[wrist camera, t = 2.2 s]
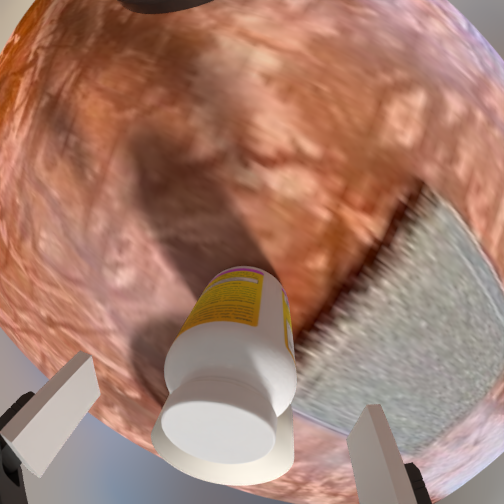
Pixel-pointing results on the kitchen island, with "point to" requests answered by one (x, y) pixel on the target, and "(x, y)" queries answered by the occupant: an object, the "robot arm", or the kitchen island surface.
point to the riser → (232, 474)
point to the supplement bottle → (231, 369)
